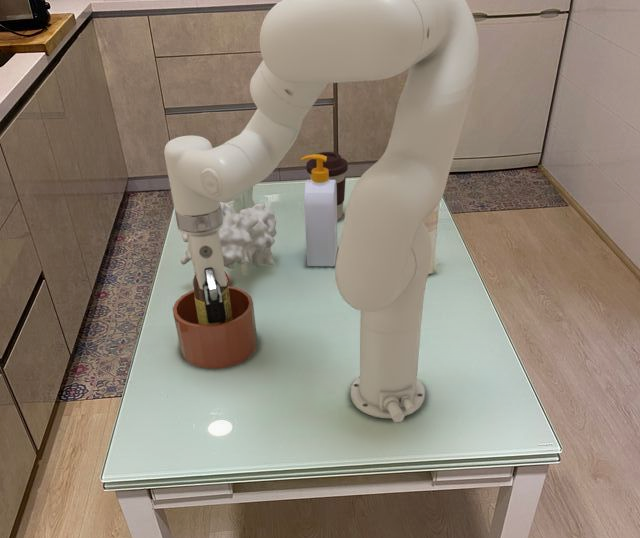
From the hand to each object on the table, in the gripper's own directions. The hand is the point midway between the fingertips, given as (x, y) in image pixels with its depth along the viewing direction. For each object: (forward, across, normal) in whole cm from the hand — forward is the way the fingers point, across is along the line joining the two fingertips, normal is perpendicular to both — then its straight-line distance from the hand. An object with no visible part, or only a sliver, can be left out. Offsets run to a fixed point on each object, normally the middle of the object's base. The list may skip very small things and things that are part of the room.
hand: (213, 307), depth 122 cm
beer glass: (+9, +60, -14) cm, 62 cm away
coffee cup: (+9, +50, -34) cm, 61 cm away
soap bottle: (+9, +29, -27) cm, 41 cm away
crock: (+9, 0, 0) cm, 9 cm away
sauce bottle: (+8, 0, 0) cm, 8 cm away
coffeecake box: (+9, +17, -41) cm, 45 cm away
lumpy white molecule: (+9, +26, -6) cm, 28 cm away
